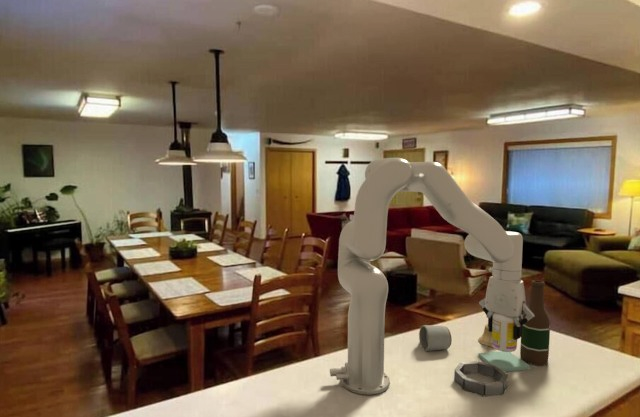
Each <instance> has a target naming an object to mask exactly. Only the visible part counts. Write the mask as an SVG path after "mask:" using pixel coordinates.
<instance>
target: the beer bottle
mask: <svg viewBox="0 0 640 417" xmlns="http://www.w3.org/2000/svg"><path fill="white" fill-rule="evenodd" d="M530 285H531V290H530V297H529V298H530V299H529V304H528V306H527V307H528V308H529V309H530V310H531V312H532V313H533V314H534V315H535V316H534V317H533V318H532V319H531V320H529V321H528V322H527V323H525V324H524V325H523V326H522V336H521V337H520V347H519V348H520V349H519V352H520V353H519V357H520V358H519V359H521V360H522V361H524V362H525V363H526V364H528V365H533V366H537V367H538V366H539V367H540V366H547V364H548V362H549V355H550V338H551V337H550V333H551V318H550V316H549V313H548V311H547V310H546V308H545V294H544V293H545V292H544V291H545V290H544V289H545V281H542V280H539V279H533V280H531V282H530ZM522 317H523V318H525V317H526V314H525V313H524V314H522Z"/></svg>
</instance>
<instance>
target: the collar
mask: <svg viewBox="0 0 640 417" xmlns="http://www.w3.org/2000/svg"><path fill="white" fill-rule="evenodd" d="M476 374H477V375H481V376H484V377H488V378H492V379H494V380H495V381H489V382H487V381H486V382H484V381H479V380H476V379H473V378H469V377H467V375H476ZM453 375H454V376H453V379H454V382H455V383H456V384H457V385H458V387H460V388H461V389H462V391H464V392H467V393H471V394H474V395H477V396H480V397H486V398H487V397H495V396H497V397H498V396H503V395H505V393H506V391H507V389H508V386H509V375H508V374H507V373H506V371H504V372H503V371H502V370H501V369H500V368H498V367H496V366H494V365H490V364H487V363H486V362H484V361H479V360H478V361H477V360H476V361H475V360H474V361H461V362H459V364H457V365H456V367H455V368H454V374H453Z"/></svg>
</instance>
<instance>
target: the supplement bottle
mask: <svg viewBox="0 0 640 417" xmlns="http://www.w3.org/2000/svg"><path fill="white" fill-rule="evenodd" d="M515 325H516V324H515V321H514V319H513V317H509V316H506V315H502V314H498V313H494V314H493V323H492V346H493V347H492V348H493V349H495V350H497V351H498V352H500V351H504V352H511V353H512V352H515V351H516V350H517V348H518V339H517V340H514V339H513V332H514V326H515Z"/></svg>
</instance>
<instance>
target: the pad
mask: <svg viewBox="0 0 640 417" xmlns="http://www.w3.org/2000/svg"><path fill="white" fill-rule="evenodd" d="M477 357H479V358H480V359H481V360H482V362H484V363H486V364H490V365H494V366H496V367H498V368H500V369H501V370H502V371H503V372H514V371H516V372H517V371H528V370H530V369H531V365H530V364H528V363H526V362H525V361H523V360H522V359H521V358H519V357H518V356H517V355H515V354H514V353H512V352H504V351H489V352H478V353H477Z"/></svg>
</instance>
